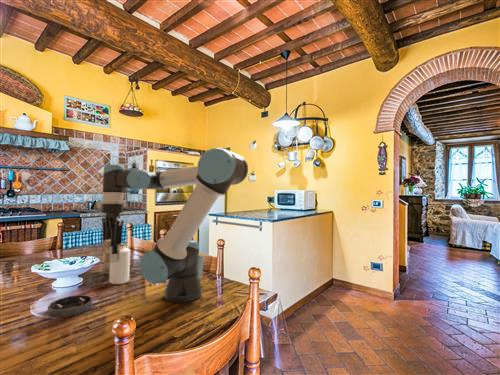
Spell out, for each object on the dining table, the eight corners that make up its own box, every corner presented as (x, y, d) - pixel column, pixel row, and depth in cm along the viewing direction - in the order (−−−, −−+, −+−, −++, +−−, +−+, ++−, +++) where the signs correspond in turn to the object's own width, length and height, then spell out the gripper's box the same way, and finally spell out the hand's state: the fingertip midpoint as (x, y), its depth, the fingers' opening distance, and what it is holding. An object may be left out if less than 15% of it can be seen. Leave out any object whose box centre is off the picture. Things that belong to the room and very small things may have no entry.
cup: (199, 274, 134) (199, 254, 135) (206, 279, 128) (206, 258, 129) (185, 277, 130) (186, 256, 130) (192, 282, 124) (192, 260, 124)
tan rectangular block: (119, 261, 105) (119, 239, 105) (106, 264, 101) (107, 240, 101) (115, 260, 107) (116, 238, 107) (102, 262, 103) (103, 239, 103)
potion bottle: (121, 285, 117) (122, 246, 117) (105, 284, 119) (106, 244, 119) (132, 279, 125) (134, 242, 125) (117, 278, 127) (119, 241, 127)
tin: (98, 307, 95) (98, 300, 95) (56, 321, 84) (56, 314, 84) (83, 298, 102) (83, 292, 102) (42, 310, 92) (42, 303, 92)
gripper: (132, 203, 103) (130, 262, 102) (112, 202, 112) (110, 256, 112) (113, 204, 97) (111, 267, 96) (94, 202, 106) (92, 259, 106)
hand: (110, 261), depth 104 cm, fingers closed on tan rectangular block, 3 cm apart
